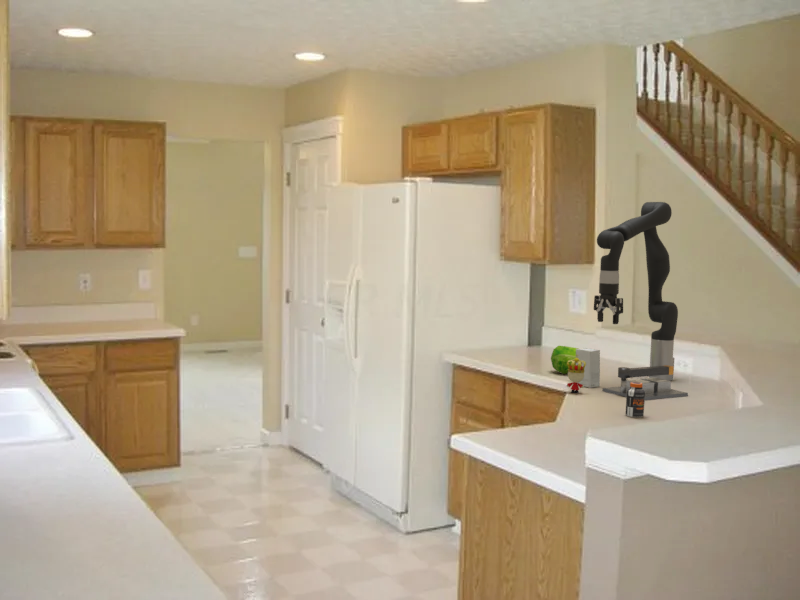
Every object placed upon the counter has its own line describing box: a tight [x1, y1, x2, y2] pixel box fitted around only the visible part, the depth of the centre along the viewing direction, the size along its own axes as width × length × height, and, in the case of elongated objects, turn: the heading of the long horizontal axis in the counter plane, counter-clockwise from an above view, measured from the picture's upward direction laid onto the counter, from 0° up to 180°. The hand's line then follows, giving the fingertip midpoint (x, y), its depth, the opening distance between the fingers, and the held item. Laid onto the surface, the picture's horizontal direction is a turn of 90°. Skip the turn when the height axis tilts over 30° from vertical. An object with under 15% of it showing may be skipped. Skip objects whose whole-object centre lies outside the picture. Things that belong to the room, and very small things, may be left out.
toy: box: [566, 355, 586, 394], centre depth 337 cm, size 7×7×15 cm
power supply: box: [626, 378, 654, 393], centre depth 339 cm, size 7×9×4 cm
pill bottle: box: [625, 382, 646, 418], centre depth 298 cm, size 6×6×11 cm
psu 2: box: [640, 377, 672, 392], centre depth 344 cm, size 7×9×4 cm
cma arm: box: [617, 365, 675, 379], centre depth 340 cm, size 27×4×4 cm, turn 120°
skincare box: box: [576, 347, 601, 388], centre depth 353 cm, size 8×6×15 cm
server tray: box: [601, 378, 689, 401], centre depth 341 cm, size 25×20×7 cm
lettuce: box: [550, 345, 580, 375], centre depth 383 cm, size 14×20×12 cm
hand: (607, 322), depth 350 cm, fingers open, 8 cm apart
